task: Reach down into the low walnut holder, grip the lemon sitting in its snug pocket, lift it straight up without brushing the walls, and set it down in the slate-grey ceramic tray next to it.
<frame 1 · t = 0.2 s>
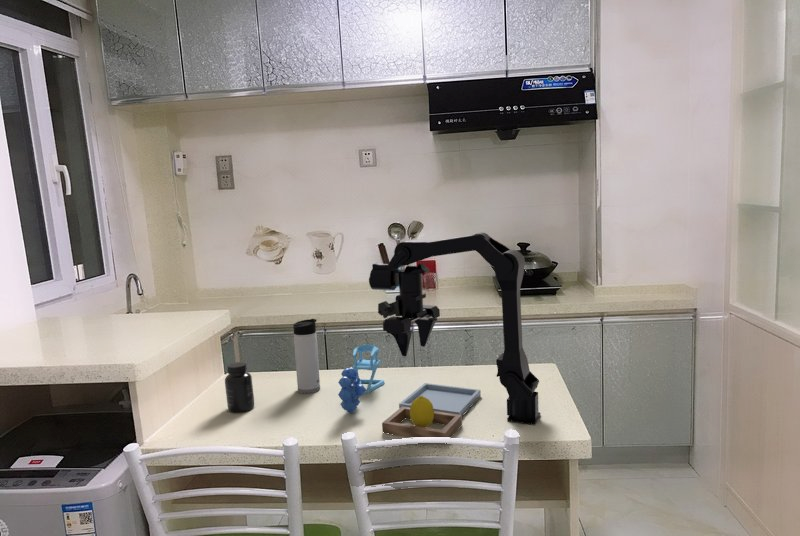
hand: (413, 351, 142), 14 cm above the table, tool pointing down, fingers open, 9 cm apart
lemon: (422, 430, 129), resting in holder
holder: (422, 429, 129), on the table
grapes: (355, 413, 141), on the table
travel mug: (309, 390, 159), on the table
chair: (367, 388, 158), on the table
tray: (441, 403, 144), on the table
supplement bottle: (241, 409, 147), on the table
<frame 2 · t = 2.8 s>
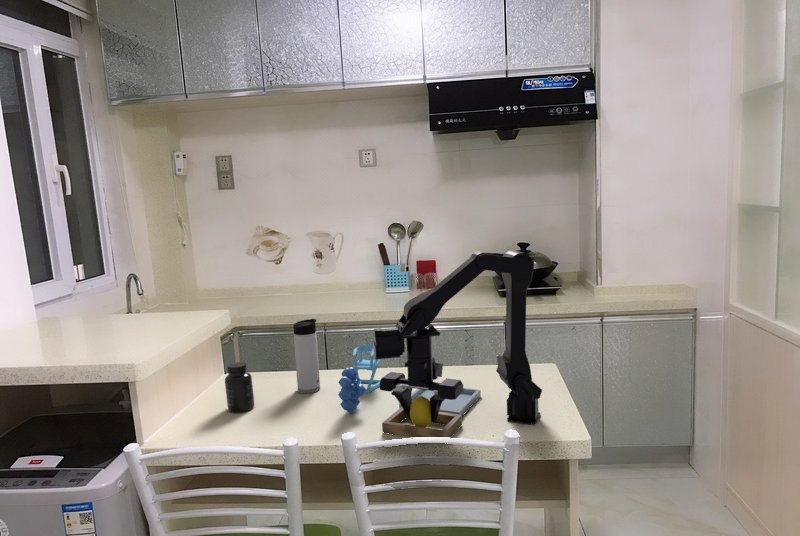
hand: (422, 420, 129), 2 cm above the table, tool pointing down, fingers closed on lemon, 5 cm apart
lemon: (422, 430, 129), resting in holder, touching gripper
everything else where it was.
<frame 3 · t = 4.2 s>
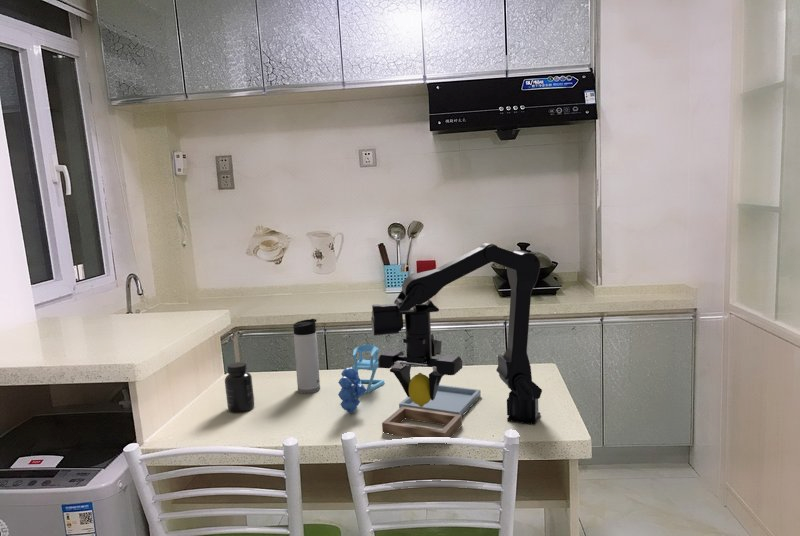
hand: (421, 398, 128), 8 cm above the table, tool pointing down, fingers closed on lemon, 5 cm apart
lemon: (421, 407, 128), point 5 cm above the table, touching gripper
everything else where it was.
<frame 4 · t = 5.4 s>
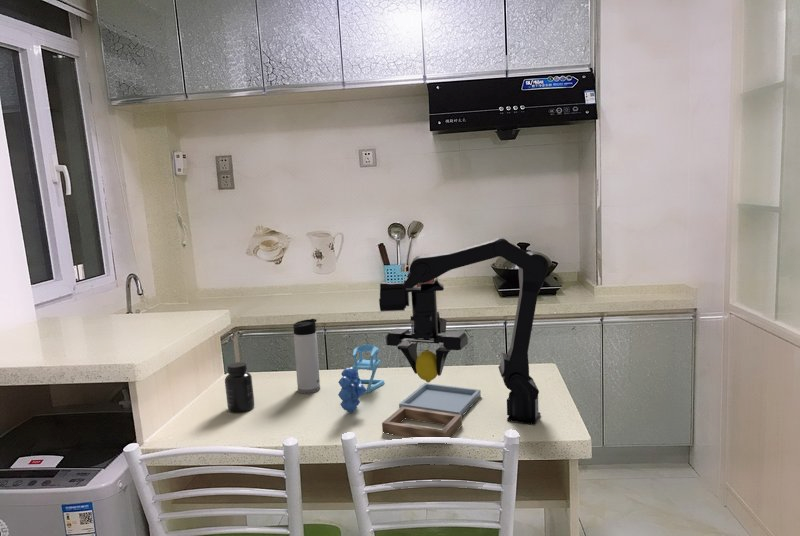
hand: (428, 374, 133), 11 cm above the table, tool pointing down, fingers closed on lemon, 5 cm apart
lemon: (428, 383, 133), point 9 cm above the table, touching gripper
everything else where it was.
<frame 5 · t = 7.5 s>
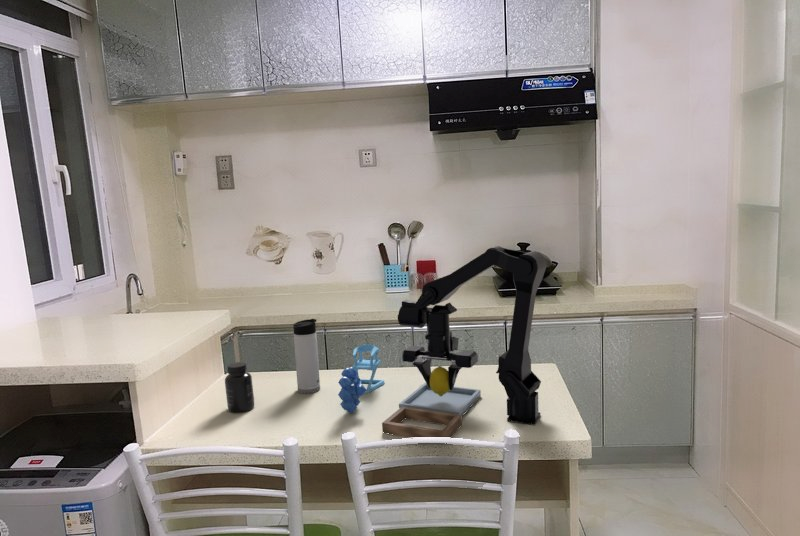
hand: (440, 388, 144), 4 cm above the table, tool pointing down, fingers closed on lemon, 5 cm apart
lemon: (441, 397, 144), point 2 cm above the table, touching gripper
everything else where it was.
when the fingers open (4 cm above the table, at t = 8.2 s): lemon drops 1 cm, resting on tray.
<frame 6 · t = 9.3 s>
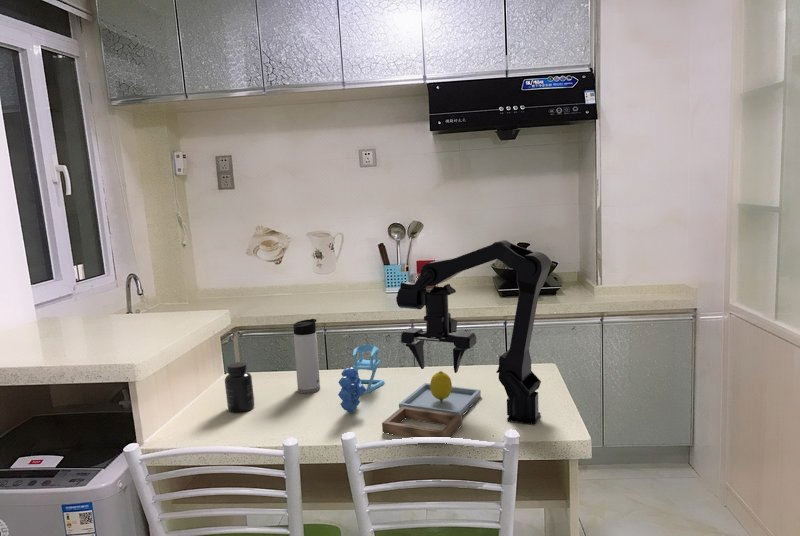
hand: (439, 370, 143), 9 cm above the table, tool pointing down, fingers open, 9 cm apart
lemon: (441, 401, 144), resting on tray
everything else where it was.
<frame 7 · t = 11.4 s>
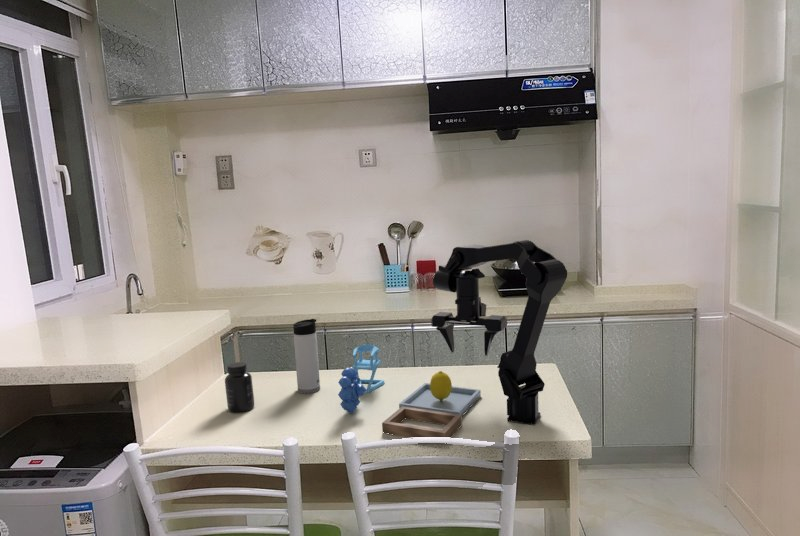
hand: (469, 353, 145), 12 cm above the table, tool pointing down, fingers open, 9 cm apart
nothing on the table moved.
at the end: lemon inside the target area on the tray (0.1 cm from its centre), point 0.4 cm above the tray's base; the gripper is holding nothing; lemon touching tray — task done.
